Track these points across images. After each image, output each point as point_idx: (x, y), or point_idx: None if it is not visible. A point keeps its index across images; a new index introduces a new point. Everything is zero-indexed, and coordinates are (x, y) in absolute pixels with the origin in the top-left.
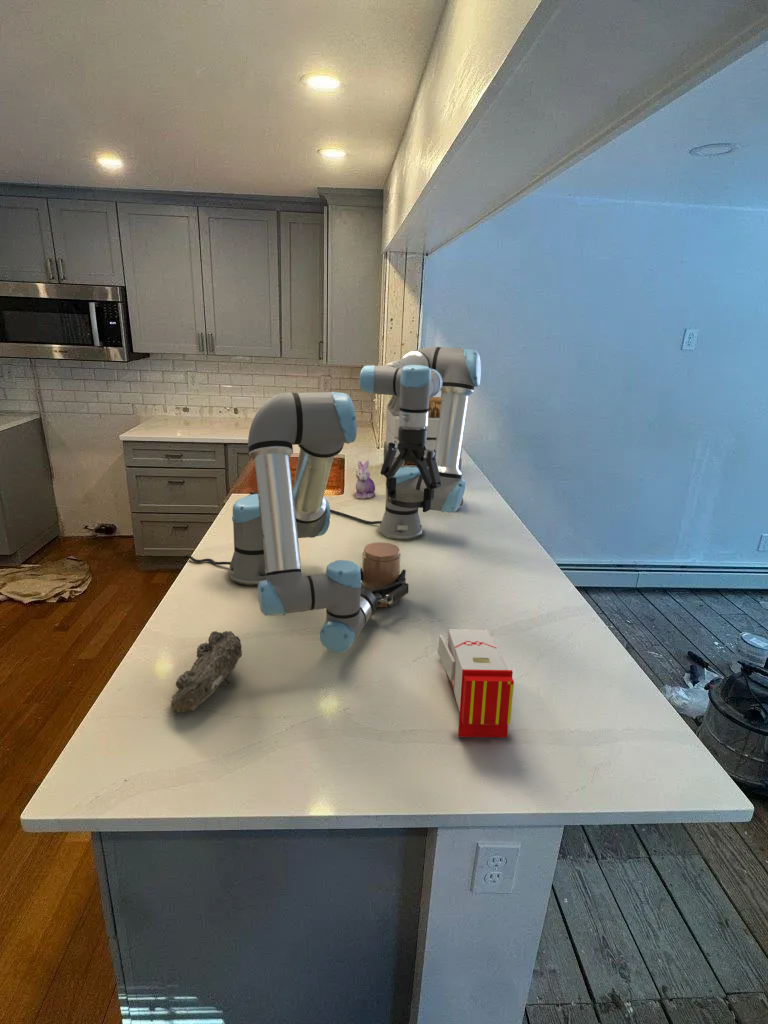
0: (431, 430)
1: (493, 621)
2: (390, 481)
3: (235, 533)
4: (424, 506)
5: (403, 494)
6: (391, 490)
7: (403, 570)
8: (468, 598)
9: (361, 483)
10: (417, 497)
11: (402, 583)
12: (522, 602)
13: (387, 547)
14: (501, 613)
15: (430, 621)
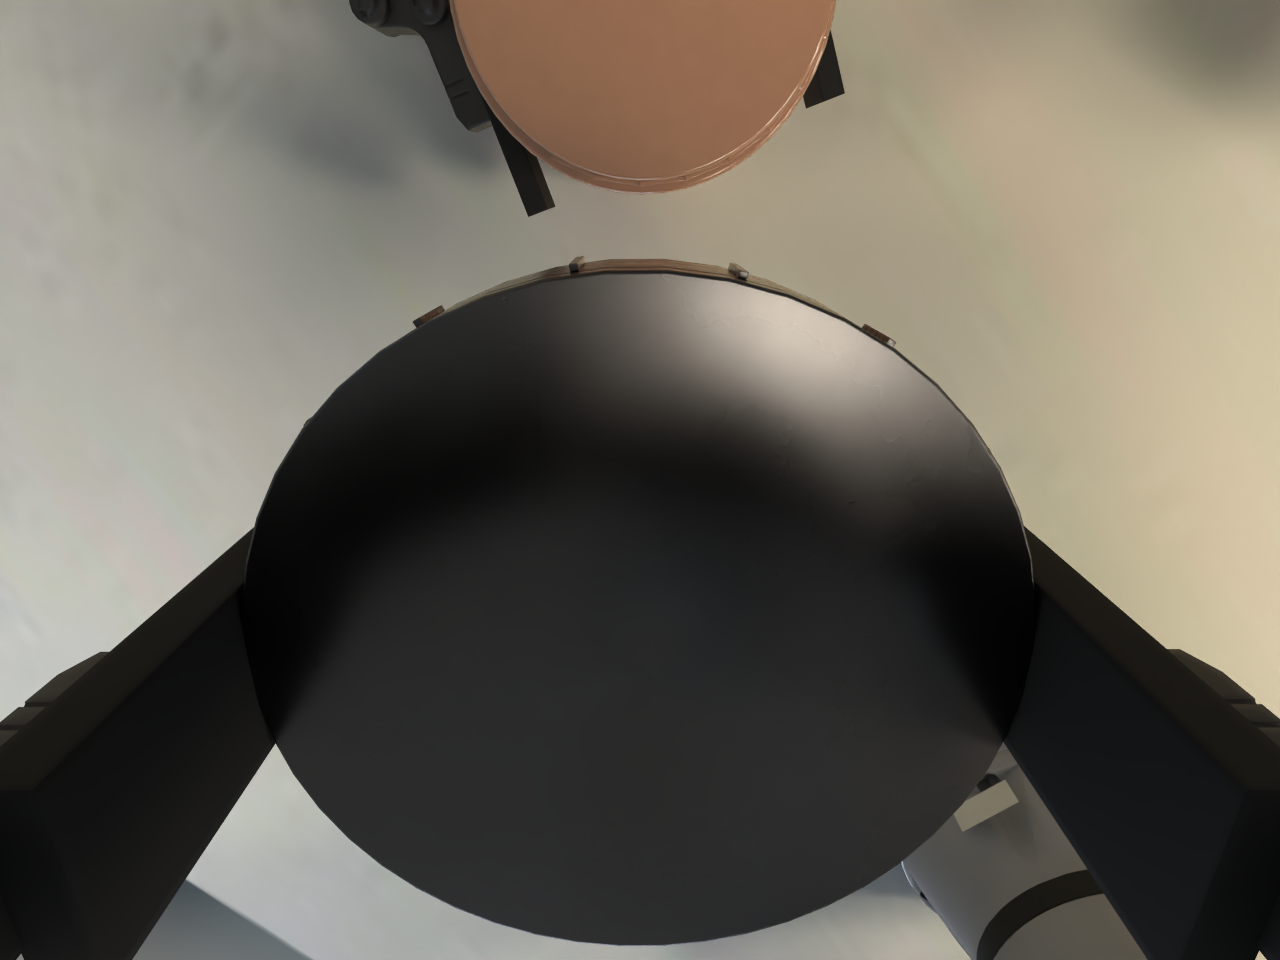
0: None
1: (16, 295)
2: (1210, 751)
3: None
4: (248, 549)
5: (750, 644)
6: (1048, 644)
7: (536, 198)
8: (275, 426)
9: None
10: (451, 681)
11: (413, 12)
12: (77, 566)
13: (625, 59)
14: (55, 400)
15: (226, 30)
